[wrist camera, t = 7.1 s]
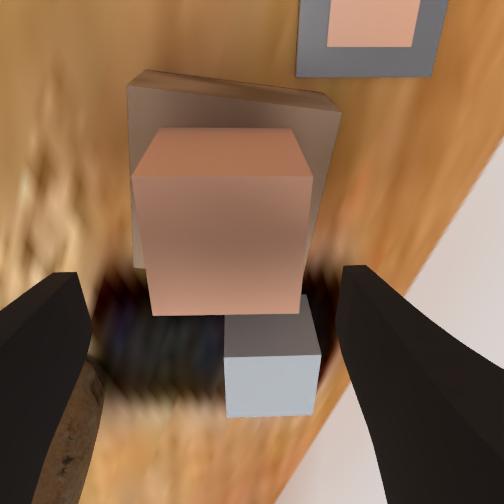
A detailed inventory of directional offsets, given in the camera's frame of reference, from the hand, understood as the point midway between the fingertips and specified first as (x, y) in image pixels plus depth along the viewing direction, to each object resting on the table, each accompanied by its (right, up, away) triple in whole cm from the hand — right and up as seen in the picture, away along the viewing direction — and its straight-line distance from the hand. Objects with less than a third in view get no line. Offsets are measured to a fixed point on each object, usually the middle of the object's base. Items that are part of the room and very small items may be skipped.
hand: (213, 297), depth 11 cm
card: (+6, +12, +5) cm, 14 cm away
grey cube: (+2, -3, +15) cm, 15 cm away
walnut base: (0, +6, +9) cm, 11 cm away
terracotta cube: (0, +4, +5) cm, 7 cm away
